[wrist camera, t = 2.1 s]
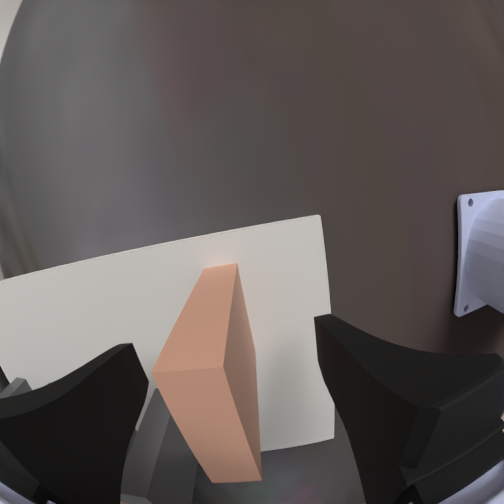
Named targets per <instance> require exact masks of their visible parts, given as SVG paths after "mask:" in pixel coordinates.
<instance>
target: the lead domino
mask: <svg viewBox="0 0 504 504" xmlns="http://www.w3.org/2000/svg"><path fill="white" fill-rule="evenodd" d="M151 373H152V376H153V378H154V380H155V382H156V384H157V387H158V389H159V391H160V393H161V395H162V397H163V399H164V401H165V403H166V405H167V407H168V409H169V411H170V413H171V415H172V417H173V419H174V421H175V422H176V424H177V426H178V428H179V430H180V432H181V433H182V435H183V437H184V439H185V440H186V442H187V444H188V446H189V447H190V449H191V451H192V452H193V454H194V456H195V457H196V459H197V460H198V462H199V464H200V465H201V467H202V468H203V470H204V471H205V473H206V474H207V476H208V477H209V479H210V480H211V482H212V483H233V482H249V481H261V480H262V469H261V449H260V430H259V410H258V390H257V370H256V351H255V347H254V342H253V337H252V333H251V328H250V323H249V318H248V314H247V309H246V304H245V299H244V294H243V290H242V285H241V280H240V275H239V270H238V265H237V263H232V264H227V265H221V266H215V267H210V268H204V269H203V271H202V273H201V275H200V277H199V279H198V281H197V283H196V284H195V286H194V288H193V290H192V292H191V294H190V296H189V298H188V300H187V302H186V303H185V305H184V307H183V309H182V311H181V313H180V315H179V317H178V319H177V321H176V323H175V325H174V327H173V329H172V331H171V333H170V335H169V337H168V339H167V341H166V343H165V345H164V347H163V349H162V351H161V353H160V355H159V357H158V359H157V361H156V363H155V365H154V367H153V369H152V371H151Z"/></svg>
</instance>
